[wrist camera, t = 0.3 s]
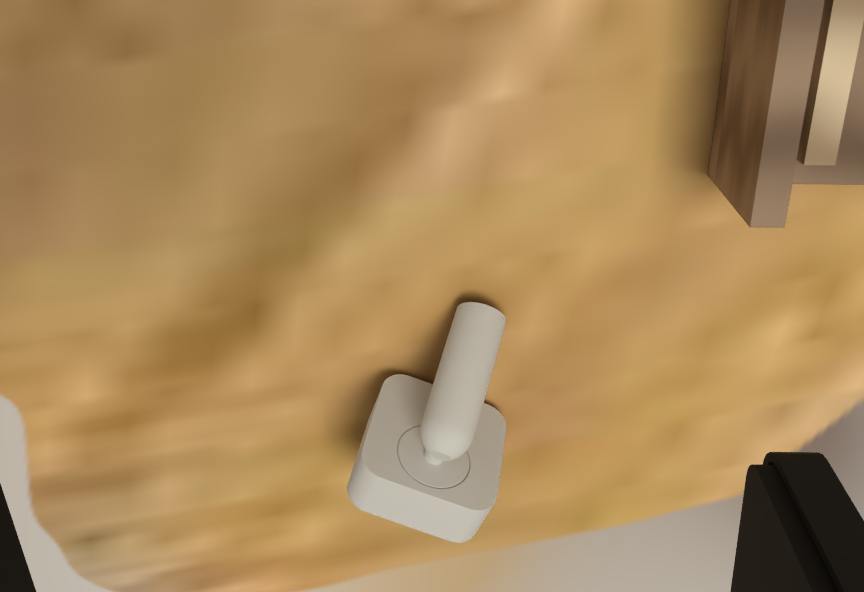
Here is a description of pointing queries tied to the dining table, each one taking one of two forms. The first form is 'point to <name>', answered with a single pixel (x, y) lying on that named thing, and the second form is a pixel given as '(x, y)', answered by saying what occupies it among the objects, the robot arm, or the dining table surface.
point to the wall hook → (437, 438)
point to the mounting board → (788, 103)
